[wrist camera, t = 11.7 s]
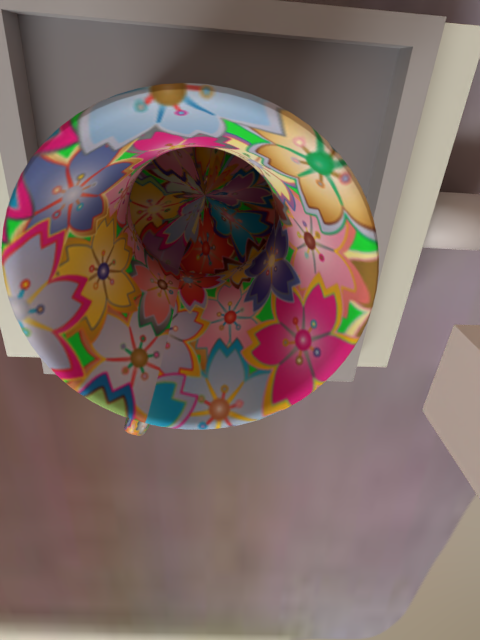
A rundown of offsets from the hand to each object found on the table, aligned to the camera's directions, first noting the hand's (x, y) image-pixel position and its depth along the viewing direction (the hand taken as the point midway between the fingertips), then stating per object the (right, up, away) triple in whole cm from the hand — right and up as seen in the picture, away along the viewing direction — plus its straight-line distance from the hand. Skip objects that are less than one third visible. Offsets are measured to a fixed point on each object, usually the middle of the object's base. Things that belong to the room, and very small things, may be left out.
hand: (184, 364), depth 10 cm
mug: (-1, +6, +10) cm, 12 cm away
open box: (+2, +8, +14) cm, 16 cm away
